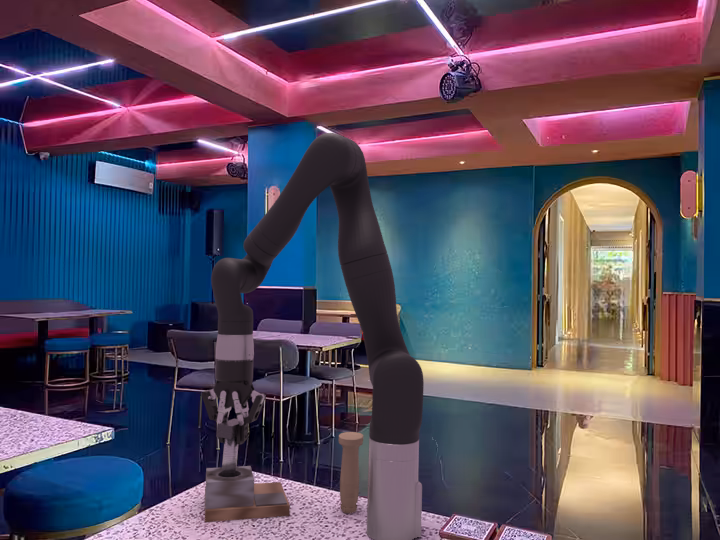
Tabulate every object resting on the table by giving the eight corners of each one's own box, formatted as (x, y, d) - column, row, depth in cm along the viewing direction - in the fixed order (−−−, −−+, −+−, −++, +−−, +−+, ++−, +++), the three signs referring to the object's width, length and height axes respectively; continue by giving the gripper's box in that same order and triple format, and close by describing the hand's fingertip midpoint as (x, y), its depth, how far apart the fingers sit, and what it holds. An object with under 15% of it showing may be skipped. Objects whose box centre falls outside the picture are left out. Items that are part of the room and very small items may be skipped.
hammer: (227, 486, 107) (232, 426, 108) (212, 483, 107) (217, 424, 108) (243, 476, 113) (248, 420, 114) (229, 474, 114) (234, 418, 115)
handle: (362, 506, 114) (364, 432, 115) (358, 518, 108) (360, 440, 109) (339, 504, 115) (341, 431, 116) (334, 516, 108) (336, 438, 109)
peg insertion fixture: (280, 491, 121) (281, 459, 122) (289, 515, 108) (290, 479, 108) (204, 496, 117) (206, 462, 118) (204, 522, 104) (206, 484, 104)
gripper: (193, 356, 110) (191, 444, 109) (258, 360, 107) (256, 450, 106) (213, 353, 117) (210, 435, 117) (274, 356, 114) (272, 441, 113)
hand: (232, 442), depth 111 cm, fingers closed on hammer, 3 cm apart
